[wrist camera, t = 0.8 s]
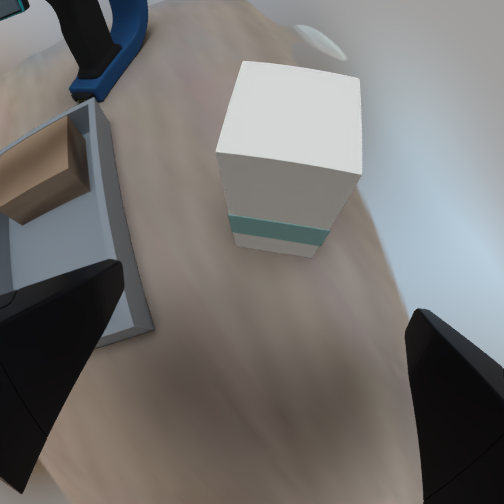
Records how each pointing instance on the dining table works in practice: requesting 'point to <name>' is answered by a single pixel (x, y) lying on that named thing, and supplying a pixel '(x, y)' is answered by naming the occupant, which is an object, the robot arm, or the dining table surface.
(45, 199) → the walnut block
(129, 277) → the tote
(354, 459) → the dining table surface
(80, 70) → the handheld scanner
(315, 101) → the carton
